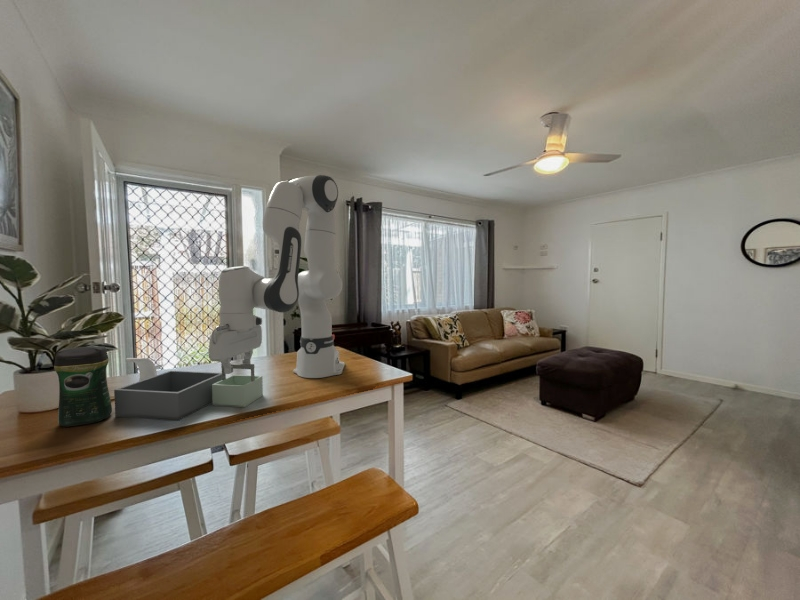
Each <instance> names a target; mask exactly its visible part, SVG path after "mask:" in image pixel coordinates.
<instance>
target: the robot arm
mask: <svg viewBox="0 0 800 600" xmlns="http://www.w3.org/2000/svg"><path fill="white" fill-rule="evenodd" d="M337 185H338V184H337V183H336V181H335V180H334V178H333V177H332V176H329V175H324V174H318V175H305V176H302V177H297V178H291V179H288V180H285V181H284V180H283V181H279V182H277V183H276V184H275V185H274V187H272V188H273V189H272V191H271V192H270V194H269V196H268V200H267V203H266V206H265V209H264V213H263V217H262V229H263V232H264V233H265V235H266V236H267V237H268V238H269V239H270V240H272V241H273V242H274V243H276V244H277V246H278V248H279V251H278V260H277V268H276V273H275V275H274V277H271V278H270V277H265V276H263V275H260V274H258V273H256V271H255V272H254V271H253V270H252V269H251V268H250V267H249V266H246V265H239V266H231V267H227V268H224V269H223V270H222V271H221V272H220V274H219V279H218V300H219V304H220V307H219V309H218V310H219V312H218V313H219V325H218V326H215V328H214V329H213V330H212V331H211V335H210V337H209V344H208V345H209V346H208V359H209V360H210V362H220V363H221V364H222V365H223V367H224V373H225V374H226V375H230V374H232V373H233V372H234V369H233V366H231V365H230V362H231V363H232V358H234V357H238V356H240V355H243V354H244V357H243V359H242V361H241V362H242V363H241V364H252V363H251V361H252V356H253V354H254V350H255V349H258V348H260V347H261V346H262V343H263V342H262V340H263V334H262V333H263V332H262V331H263V329H262V325H263V318H262V317H260V316H257V315H255V314H254V309H255V308H256V309H263V310H268V311H273V312H276V313H287V312H289V311H291V310H293V308H294V307H295V306H296V305H297V303H298V306H299V310H300V321H301V336H300V338H299V339H300V340H299V343H300V344H299V345H300V348H299V349H298V350H297V352H296V367H295V368H294V369H293V370H292V373H294V374H297V376H298V377H300V378H306V379H320V378H328V377H331V376H332V377H333V376H336V375H337V376H338V375H341V374H343V371H344V369H345V364H346V363H345V362H344V361H341V360H340V352H339V350H338V349H337V348H336V346H335V342H334V340H335V339H336V338H335V337H336V336H335V334H332V333H333V327H332V325H333V321H332V320H333V317H332V313H331V312H330V310H329V309H328V304H327V301H330V300H332V299H335V298H337V297H339V295H340V294H341V293H342V290H343V280H342V278H341V276H340V274H339V272H338V270H337V265H336V259H335V258H336V257H335V256H336V255H335V253H336V250H335V249H336V238H337V215H336V210H335V207H336V204H337V201H338V196H339V187H338V186H337ZM303 211H306V213H307V220H306V224H305V225H306V227H305V235H304V236H305V237H304V247H303V251H304V252H303V253H304V256H305V257H306V259H307V260H306V261H307V265H308V270H302V271H301V272H300V262H301V251H302V236H301V233H300V224H301V220H302V215H303ZM221 364H220V365H221Z"/></svg>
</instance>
